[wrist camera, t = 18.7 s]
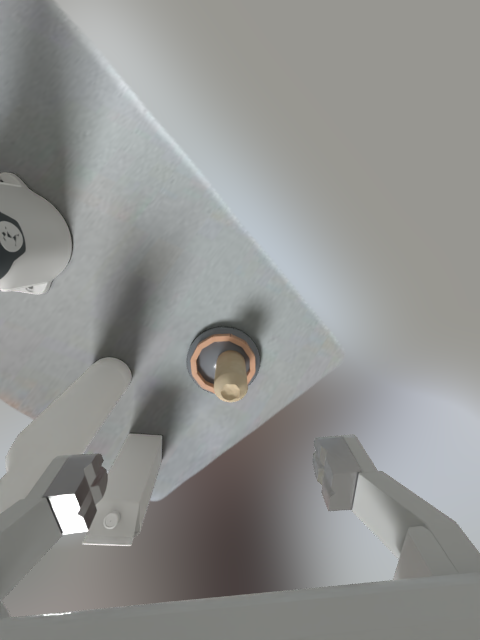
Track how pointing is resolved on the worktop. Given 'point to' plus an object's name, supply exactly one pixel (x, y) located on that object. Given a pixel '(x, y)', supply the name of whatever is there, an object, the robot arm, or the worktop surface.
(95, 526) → the milk carton
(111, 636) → the robot arm
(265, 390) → the worktop surface
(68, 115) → the worktop surface
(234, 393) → the candle
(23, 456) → the bottle
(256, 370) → the tray
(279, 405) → the worktop surface
